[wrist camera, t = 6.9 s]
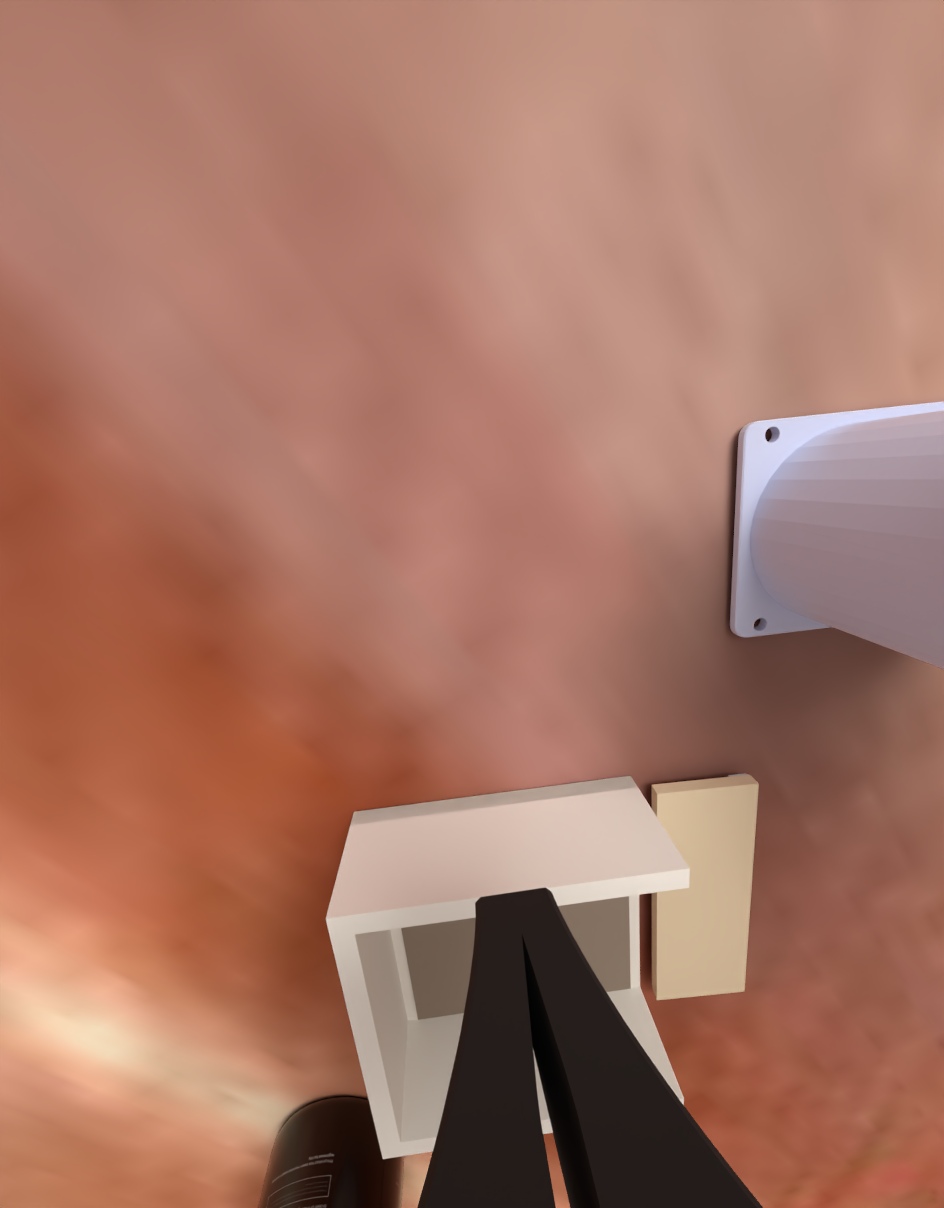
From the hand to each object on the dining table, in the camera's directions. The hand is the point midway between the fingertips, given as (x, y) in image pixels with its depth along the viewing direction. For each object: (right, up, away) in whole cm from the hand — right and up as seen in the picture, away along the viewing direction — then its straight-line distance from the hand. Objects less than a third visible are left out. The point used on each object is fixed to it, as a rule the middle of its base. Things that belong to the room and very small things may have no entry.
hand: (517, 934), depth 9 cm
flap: (+7, -7, +12) cm, 16 cm away
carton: (+1, -8, +13) cm, 15 cm away
